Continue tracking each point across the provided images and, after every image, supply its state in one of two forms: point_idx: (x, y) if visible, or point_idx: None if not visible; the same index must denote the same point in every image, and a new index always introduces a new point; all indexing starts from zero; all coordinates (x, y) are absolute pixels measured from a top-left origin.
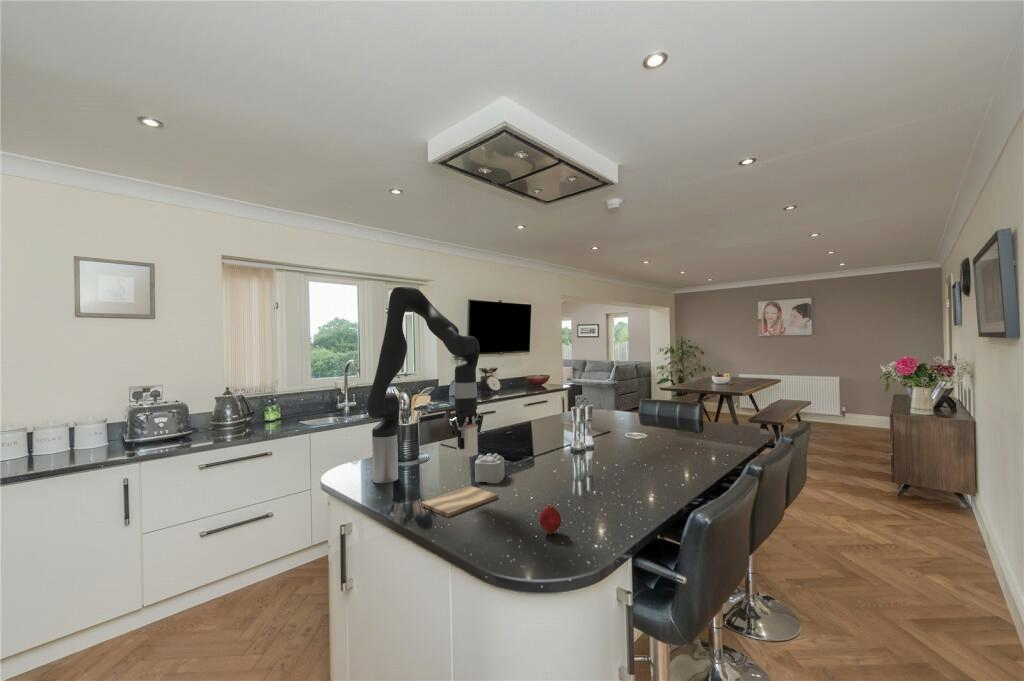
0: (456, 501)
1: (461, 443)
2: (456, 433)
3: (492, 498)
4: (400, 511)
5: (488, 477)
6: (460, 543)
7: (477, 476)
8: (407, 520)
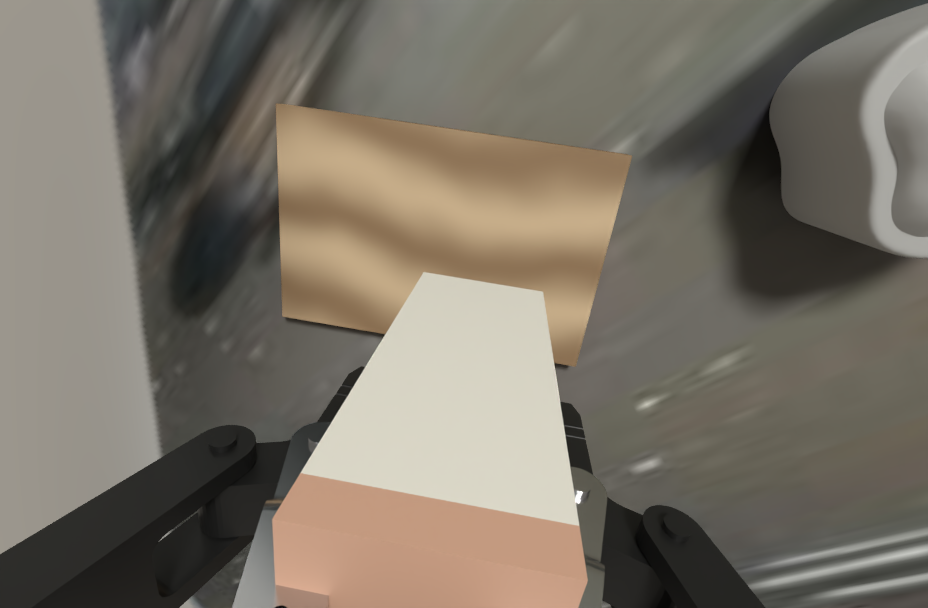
0: (397, 259)
1: None
2: (178, 550)
3: None
4: (181, 71)
5: (802, 181)
6: None
7: (794, 100)
8: (160, 191)
